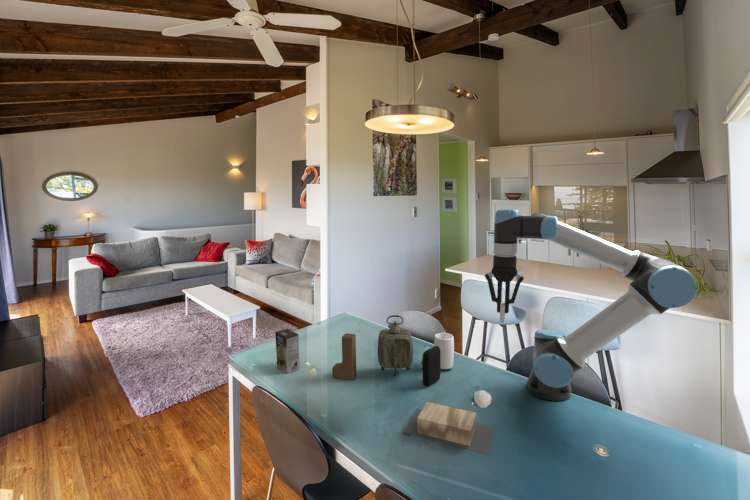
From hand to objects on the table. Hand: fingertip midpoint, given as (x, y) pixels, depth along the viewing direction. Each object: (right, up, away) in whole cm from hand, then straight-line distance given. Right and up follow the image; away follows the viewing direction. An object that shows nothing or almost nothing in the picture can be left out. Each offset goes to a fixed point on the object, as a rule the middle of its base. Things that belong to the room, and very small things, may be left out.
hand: (502, 321), depth 135 cm
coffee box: (-82, -26, +31) cm, 92 cm away
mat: (-21, -32, -13) cm, 41 cm away
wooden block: (-57, -27, +23) cm, 67 cm away
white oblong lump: (-6, -30, +4) cm, 31 cm away
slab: (-15, -29, -17) cm, 37 cm away
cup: (-15, -25, +30) cm, 42 cm away
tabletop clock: (-36, -26, +26) cm, 52 cm away
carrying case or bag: (-23, -28, +16) cm, 39 cm away
